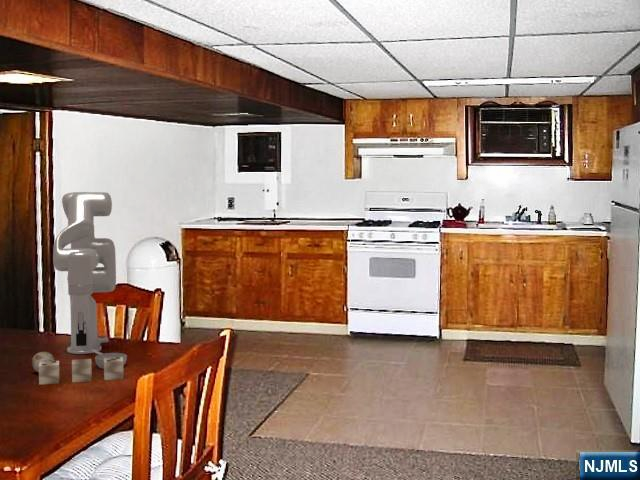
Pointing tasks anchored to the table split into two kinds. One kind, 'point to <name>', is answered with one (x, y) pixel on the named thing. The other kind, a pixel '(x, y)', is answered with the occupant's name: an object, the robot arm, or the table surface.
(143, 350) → the table surface
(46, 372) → the pip block
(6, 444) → the table surface
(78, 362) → the plain block
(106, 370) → the pip block
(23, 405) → the table surface
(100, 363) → the small pan
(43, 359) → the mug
